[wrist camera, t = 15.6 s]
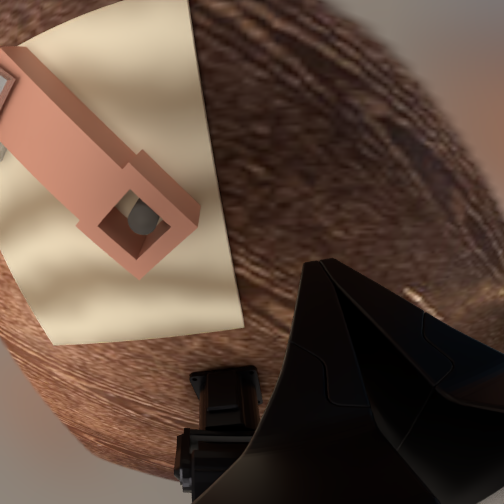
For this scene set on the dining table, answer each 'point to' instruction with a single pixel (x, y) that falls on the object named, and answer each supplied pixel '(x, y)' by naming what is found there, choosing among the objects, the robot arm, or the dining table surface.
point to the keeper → (3, 82)
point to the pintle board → (131, 206)
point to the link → (89, 166)
